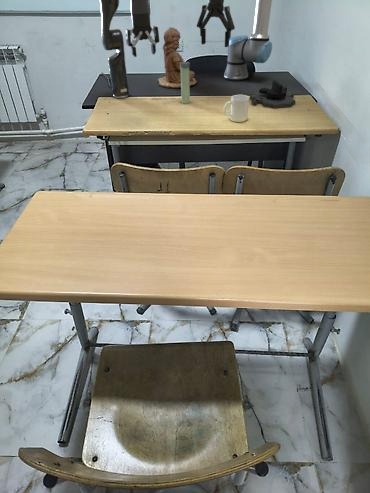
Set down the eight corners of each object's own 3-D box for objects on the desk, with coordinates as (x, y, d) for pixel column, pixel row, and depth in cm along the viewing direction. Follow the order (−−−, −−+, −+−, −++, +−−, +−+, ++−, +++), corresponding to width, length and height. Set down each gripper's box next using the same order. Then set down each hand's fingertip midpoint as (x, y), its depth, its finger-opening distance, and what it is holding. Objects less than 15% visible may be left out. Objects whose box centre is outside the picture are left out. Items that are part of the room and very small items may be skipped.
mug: (224, 123, 170) (225, 101, 163) (221, 117, 176) (221, 95, 170) (249, 121, 171) (251, 99, 165) (244, 115, 177) (246, 93, 171)
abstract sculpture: (259, 90, 177) (247, 79, 193) (257, 109, 183) (245, 97, 198) (307, 86, 180) (291, 76, 195) (303, 105, 186) (288, 93, 201)
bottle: (180, 101, 197) (179, 63, 184) (187, 100, 198) (187, 62, 186) (183, 104, 193) (182, 65, 181) (191, 102, 195) (190, 64, 182)
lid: (178, 66, 185) (178, 62, 184) (187, 65, 187) (187, 61, 186) (182, 68, 182) (182, 64, 180) (191, 67, 183) (191, 63, 182)
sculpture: (197, 88, 213) (196, 30, 194) (156, 89, 214) (152, 31, 194) (196, 75, 234) (196, 22, 215) (159, 76, 235) (156, 23, 215)
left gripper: (152, 8, 151) (156, 51, 161) (120, 12, 146) (126, 55, 157) (159, 10, 146) (162, 55, 156) (126, 14, 141) (131, 59, 152)
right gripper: (189, -7, 167) (190, 44, 181) (235, -6, 156) (232, 49, 169) (198, -9, 172) (198, 41, 185) (244, -7, 160) (240, 46, 174)
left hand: (144, 55), depth 157 cm, fingers open, 8 cm apart
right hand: (214, 45), depth 177 cm, fingers open, 13 cm apart
